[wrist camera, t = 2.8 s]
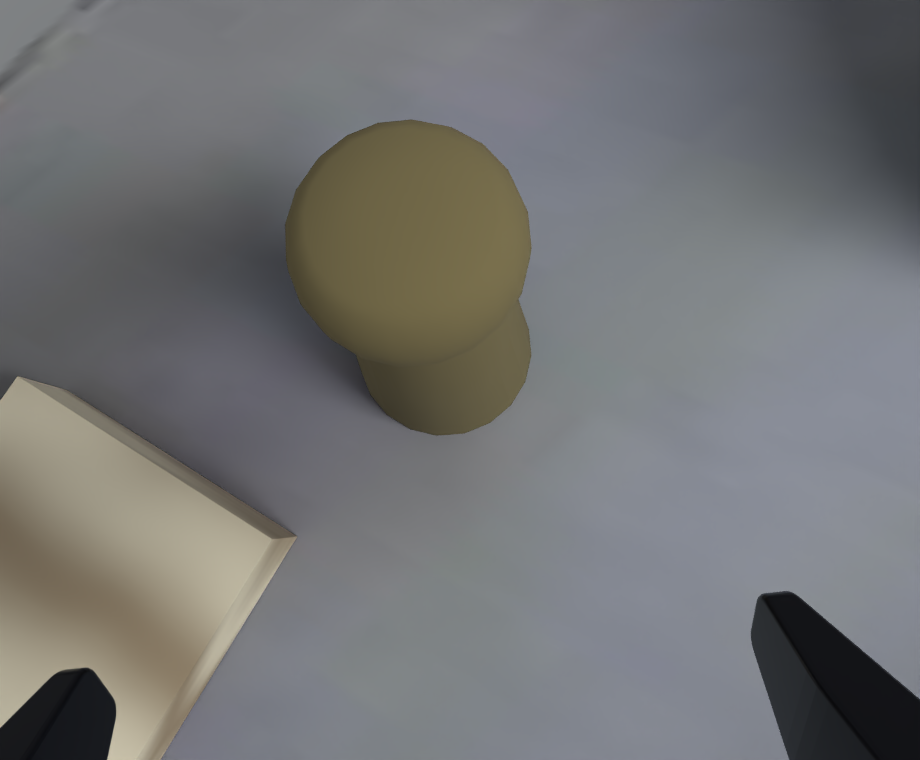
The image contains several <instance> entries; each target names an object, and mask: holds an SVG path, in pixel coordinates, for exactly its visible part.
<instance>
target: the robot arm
mask: <svg viewBox="0 0 920 760" xmlns="http://www.w3.org/2000/svg"><path fill="white" fill-rule="evenodd" d="M751 641H752V646H753V650H754V653H755V656H756V659H757V663H758V666H759V669H760V672H761V675H762V678H763V681H764V684H765V687H766V690H767V693H768V696H769V699H770V702H771V705H772V709H773V712H774V715H775V718H776V721H777V724H778V727H779V730H780V733H781V736H782V739H783V742H784V745H785V748H786V751H787V754H788V757H789V760H920V699H919V698H918V697H916V696H915V695H914V694H913V693H912V692H911V691H909V690H908V689H907V688H906V687H905V686H903V685H902V684H901V683H900V682H899V681H898V680H896V679H895V678H894V677H893V676H892V675H891V674H889V673H888V672H887V671H886V670H885V669H883V668H882V667H881V666H880V665H879V664H878V663H876V662H875V661H874V660H873V659H872V658H870V657H869V656H868V655H867V654H866V653H865V652H863V651H862V650H861V649H860V648H859V647H858V646H856V645H855V644H854V643H853V642H852V641H850V640H849V639H848V638H847V637H846V636H845V635H843V634H842V633H841V632H840V631H839V630H837V629H836V628H835V627H834V626H833V625H832V624H830V623H829V622H828V621H827V620H826V619H825V618H823V617H822V616H821V615H820V614H819V613H817V612H816V611H815V610H814V609H813V608H812V607H810V606H809V605H808V604H807V603H806V602H804V601H803V600H802V599H801V598H800V597H799V596H797V595H796V594H794V593H792V592H788V591H782V592H773V593H764V594H761V595H760V596H759V597H758V599H757V603H756V608H755V613H754V618H753V623H752V629H751ZM115 721H116V703H115V700H114V698H113V696H112V695H111V694H110V692H109V691H108V689H107V688H106V687H105V685H104V684H103V683H102V681H101V680H100V678H99V677H98V676H97V674H96V673H95V672H94V671H93V670H92V669H90V668H86V667H85V668H75V669H66V670H62V671H59V672H57V673H56V674H54V675H53V676H52V677H51V678H49V679H48V680H47V681H46V682H45V683H44V684H43V685H42V686H41V687H40V688H39V689H38V690H37V691H36V692H35V693H34V694H33V695H32V696H31V697H30V698H29V699H28V700H27V701H26V702H25V703H24V704H23V705H22V706H21V707H20V708H19V709H18V710H17V711H16V712H15V713H14V714H13V715H12V716H11V717H10V718H9V719H8V720H7V721H6V722H5V723H4V724H3V725H2V726H1V727H0V760H107V759H108V754H109V749H110V745H111V740H112V735H113V730H114V725H115Z"/></svg>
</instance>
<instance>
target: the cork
mask: <svg viewBox="0 0 920 760" xmlns="http://www.w3.org/2000/svg"><path fill="white" fill-rule="evenodd" d="M285 232H286V262H287V267H288V271H289V274H290V277H291V280H292V282H293V285H294V288H295V290H296V293H297V296H298V298H299V301H300V304H301V305H302V307H303V308H304V309H305V310H306V311H307V313H308V314H309V315H310V316H311V317H312V319H313V320H314V321H315V322H316V323H317V325H318V326H319V327H320V328H321V329H322V331H323V332H324V333H325V334H326V335H327V336H328V337H329V338H330V339H331V340H333V341H335V342H336V343H338V344H339V345H341V346H343V347H344V348H346V349H348V350H349V351H351V352H353V353H354V354H356V357H357V360H358V363H359V366H360V369H361V372H362V374H363V377H364V379H365V382H366V385H367V387H368V390H369V392H370V395H371V396H372V397H373V398H374V399H375V401H376V402H377V403H378V404H379V406H380V407H381V408H382V409H383V410H384V412H385V413H386V414H387V415H388V416H390V417H391V418H393V419H395V420H396V421H398V422H400V423H401V424H403V425H404V426H406V427H408V428H409V429H412V430H416V431H420V432H424V433H428V434H433V435H450V434H462V433H466V432H469V431H471V430H474V429H476V428H478V427H481V426H483V425H486V424H488V423H490V422H491V421H493V420H494V419H495V418H496V417H497V416H499V415H500V414H501V413H502V412H503V411H504V410H506V409H507V408H508V407H509V406H510V405H511V404H512V402H513V401H514V399H515V398H516V396H517V394H518V393H519V391H520V389H521V388H522V386H523V384H524V383H525V380H526V376H527V372H528V367H529V363H530V359H531V348H530V338H529V329H528V326H527V323H526V320H525V317H524V315H523V312H522V309H521V306H520V303H519V300H518V298H519V297H520V295H521V294H522V289H523V285H524V281H525V277H526V273H527V268H528V264H529V260H530V254H531V239H530V229H529V219H528V211H527V209H526V207H525V205H524V203H523V201H522V198H521V196H520V194H519V192H518V190H517V188H516V186H515V183H514V181H513V179H512V177H511V175H510V173H509V171H508V169H507V168H506V167H505V166H504V165H503V164H502V163H501V162H500V161H499V160H498V159H497V158H496V157H495V156H494V155H493V154H492V153H491V152H490V151H489V150H488V149H487V148H486V147H485V146H484V145H483V144H482V143H480V142H478V141H476V140H474V139H473V138H471V137H469V136H467V135H465V134H463V133H461V132H459V131H457V130H456V129H454V128H452V127H448V126H443V125H437V124H432V123H427V122H422V121H416V120H403V121H393V122H383V123H377V124H374V125H372V126H369V127H367V128H364V129H362V130H359V131H357V132H354V133H352V134H349V135H347V136H346V137H344V138H343V139H342V140H340V141H339V142H338V143H337V144H335V145H334V146H333V147H332V148H330V149H329V150H328V151H326V152H325V153H324V154H323V155H321V156H320V157H319V158H318V160H317V161H316V162H315V164H314V165H313V166H312V168H311V169H310V171H309V172H308V174H307V175H306V176H305V178H304V179H303V181H302V182H301V184H300V185H299V186H298V188H297V189H296V191H295V195H294V198H293V201H292V204H291V207H290V211H289V214H288V217H287V220H286V224H285Z"/></svg>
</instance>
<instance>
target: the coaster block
mask: <svg viewBox="0 0 920 760" xmlns="http://www.w3.org/2000/svg"><path fill="white" fill-rule="evenodd" d="M296 538H297V536H296V535H294V534H292V533H291V532H289V531H288V530H286V529H285V528H283V527H281V526H280V525H278V524H277V523H275V522H274V521H272V520H270V519H269V518H267V517H266V516H264V515H263V514H261V513H259V512H258V511H256V510H255V509H253V508H252V507H250V506H248V505H247V504H245V503H244V502H242V501H241V500H239V499H237V498H236V497H234V496H233V495H231V494H230V493H228V492H226V491H225V490H223V489H222V488H220V487H219V486H217V485H215V484H214V483H212V482H211V481H209V480H208V479H206V478H204V477H203V476H201V475H200V474H198V473H197V472H195V471H193V470H192V469H190V468H189V467H187V466H185V465H184V464H182V463H181V462H179V461H178V460H176V459H174V458H173V457H171V456H170V455H168V454H167V453H165V452H163V451H162V450H160V449H159V448H157V447H156V446H154V445H152V444H151V443H149V442H148V441H146V440H145V439H143V438H141V437H140V436H138V435H137V434H135V433H134V432H132V431H130V430H129V429H127V428H126V427H124V426H123V425H121V424H119V423H118V422H116V421H115V420H113V419H112V418H110V417H108V416H107V415H105V414H104V413H102V412H101V411H99V410H97V409H96V408H94V407H93V406H91V405H90V404H88V403H86V402H85V401H83V400H82V399H80V398H79V397H77V396H75V395H74V394H72V393H71V392H69V391H68V390H65V389H61V388H58V387H54V386H51V385H47V384H44V383H40V382H37V381H33V380H30V379H26V378H23V377H19V376H17V378H16V379H15V381H14V382H13V383H12V385H11V386H10V388H9V389H8V390H7V392H6V393H5V395H4V396H3V398H2V399H1V400H0V727H1V726H2V725H3V724H4V723H5V722H6V721H7V720H8V719H9V718H10V717H11V716H12V715H13V714H14V713H15V712H16V711H17V710H18V709H19V708H20V707H21V706H22V705H23V704H24V703H25V702H26V701H27V700H28V699H29V698H30V697H31V696H32V695H33V694H34V693H35V692H36V691H37V690H38V689H39V688H40V687H41V686H42V685H43V684H44V683H45V682H46V681H47V680H48V679H49V678H51V677H52V676H53V675H54V674H56V673H57V672H59V671H62V670H66V669H75V668H85V667H86V668H90V669H92V670H93V671H94V672H95V673H96V674H97V676H98V677H99V678H100V680H101V681H102V683H103V684H104V685H105V687H106V688H107V689H108V691H109V692H110V694H111V695H112V696H113V698H114V700H115V703H116V721H115V725H114V730H113V735H112V740H111V745H110V749H109V754H108V759H107V760H161V758H162V756H163V755H164V753H165V751H166V750H167V748H168V747H169V745H170V743H171V742H172V740H173V738H174V737H175V735H176V733H177V732H178V730H179V729H180V727H181V725H182V724H183V722H184V720H185V719H186V717H187V716H188V714H189V712H190V711H191V709H192V707H193V706H194V704H195V703H196V701H197V699H198V698H199V696H200V694H201V693H202V691H203V689H204V688H205V686H206V685H207V683H208V681H209V680H210V678H211V676H212V675H213V673H214V672H215V670H216V668H217V667H218V665H219V663H220V662H221V660H222V658H223V657H224V655H225V654H226V652H227V650H228V649H229V647H230V645H231V644H232V642H233V641H234V639H235V637H236V636H237V634H238V632H239V631H240V629H241V627H242V626H243V624H244V623H245V621H246V619H247V618H248V616H249V614H250V613H251V611H252V610H253V608H254V606H255V605H256V603H257V601H258V600H259V598H260V596H261V595H262V593H263V592H264V590H265V588H266V587H267V585H268V583H269V582H270V580H271V579H272V577H273V575H274V574H275V572H276V570H277V569H278V567H279V566H280V564H281V562H282V561H283V559H284V557H285V556H286V554H287V552H288V551H289V549H290V548H291V546H292V544H293V543H294V541H295V539H296Z"/></svg>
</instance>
